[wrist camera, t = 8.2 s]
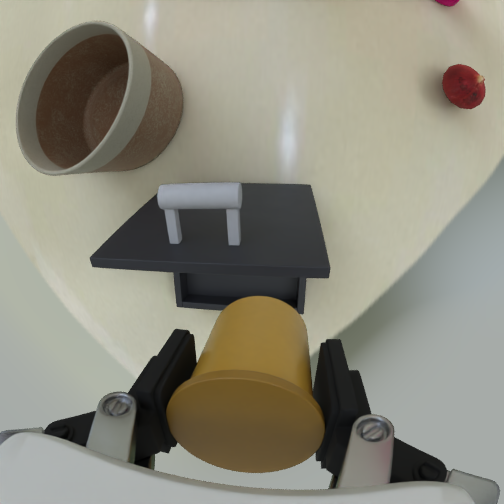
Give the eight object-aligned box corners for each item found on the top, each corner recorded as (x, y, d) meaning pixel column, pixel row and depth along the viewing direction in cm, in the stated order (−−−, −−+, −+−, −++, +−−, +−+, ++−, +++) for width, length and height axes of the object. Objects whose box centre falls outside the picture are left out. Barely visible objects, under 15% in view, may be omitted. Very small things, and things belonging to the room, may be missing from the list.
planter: (104, 190, 36) (33, 204, 23) (74, 98, 33) (8, 85, 20) (204, 135, 33) (156, 117, 20) (163, 39, 30) (112, -7, 16)
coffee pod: (188, 331, 14) (138, 416, 8) (262, 266, 12) (242, 346, 7) (258, 391, 14) (244, 484, 9) (334, 339, 13) (356, 437, 7)
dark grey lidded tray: (302, 302, 37) (303, 314, 34) (184, 296, 39) (176, 307, 36) (307, 186, 33) (310, 187, 30) (178, 186, 35) (168, 188, 32)
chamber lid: (329, 278, 17) (338, 200, 14) (92, 267, 18) (73, 203, 16) (310, 191, 30) (312, 146, 27) (167, 191, 31) (162, 150, 29)
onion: (463, 120, 28) (497, 112, 20) (429, 100, 28) (460, 86, 20) (468, 85, 26) (500, 73, 19) (435, 65, 26) (464, 47, 19)
